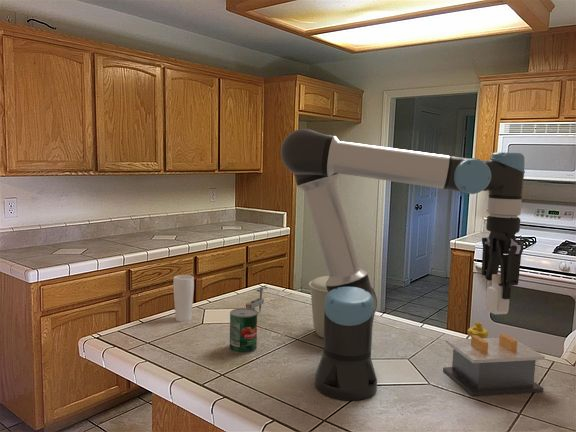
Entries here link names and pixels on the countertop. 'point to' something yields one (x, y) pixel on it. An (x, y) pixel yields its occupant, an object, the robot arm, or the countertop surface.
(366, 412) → the countertop surface
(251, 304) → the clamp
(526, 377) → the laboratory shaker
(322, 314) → the canister
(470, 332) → the pressure relief valve
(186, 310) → the drinking glass
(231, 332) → the canned tomato
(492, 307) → the pepper shaker
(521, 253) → the robot arm
